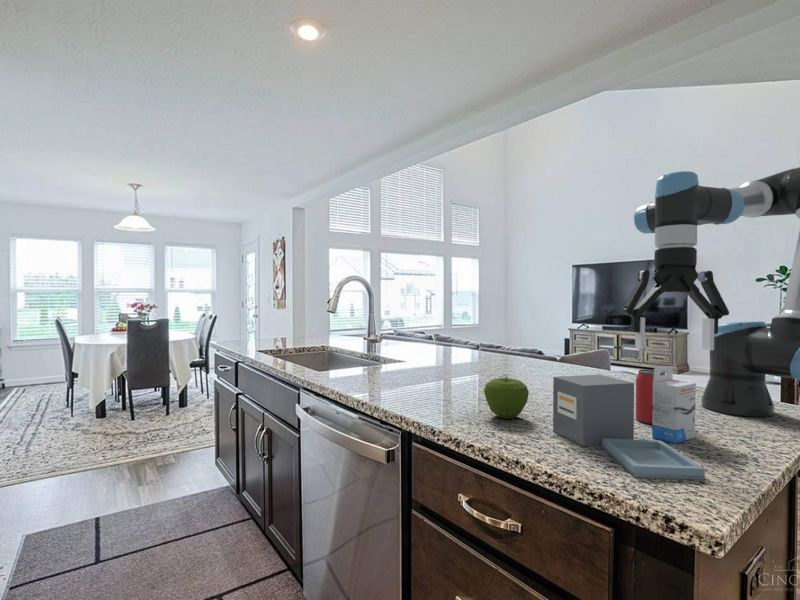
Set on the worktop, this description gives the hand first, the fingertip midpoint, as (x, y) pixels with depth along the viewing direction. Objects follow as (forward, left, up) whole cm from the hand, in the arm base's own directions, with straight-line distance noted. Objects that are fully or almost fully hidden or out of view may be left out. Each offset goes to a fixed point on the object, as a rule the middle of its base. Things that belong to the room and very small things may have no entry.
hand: (673, 349), depth 91 cm
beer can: (-1, -12, -19) cm, 22 cm away
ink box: (0, 0, -19) cm, 19 cm away
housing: (+17, +1, -19) cm, 25 cm away
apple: (+33, -12, -19) cm, 40 cm away
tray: (+12, +15, -19) cm, 27 cm away
